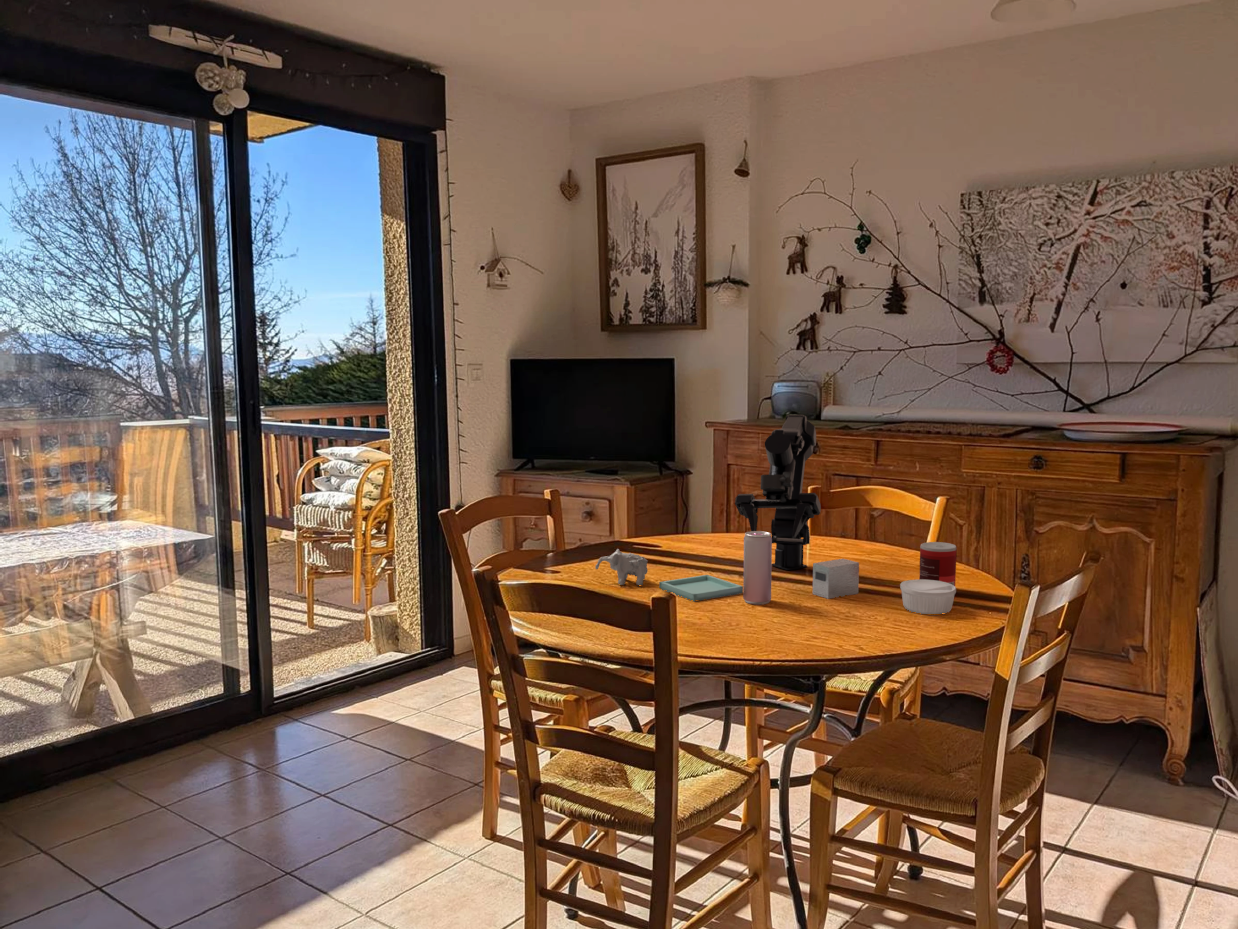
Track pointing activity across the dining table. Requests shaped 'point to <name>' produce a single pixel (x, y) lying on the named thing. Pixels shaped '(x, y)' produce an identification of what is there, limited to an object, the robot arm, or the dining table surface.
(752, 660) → the dining table surface
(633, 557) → the gray elephant figurine
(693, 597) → the tray
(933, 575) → the canned food
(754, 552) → the beverage can
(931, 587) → the ramekin
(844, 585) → the block
